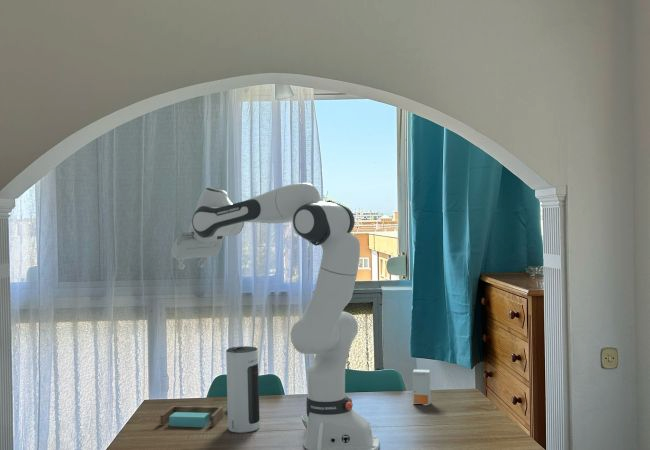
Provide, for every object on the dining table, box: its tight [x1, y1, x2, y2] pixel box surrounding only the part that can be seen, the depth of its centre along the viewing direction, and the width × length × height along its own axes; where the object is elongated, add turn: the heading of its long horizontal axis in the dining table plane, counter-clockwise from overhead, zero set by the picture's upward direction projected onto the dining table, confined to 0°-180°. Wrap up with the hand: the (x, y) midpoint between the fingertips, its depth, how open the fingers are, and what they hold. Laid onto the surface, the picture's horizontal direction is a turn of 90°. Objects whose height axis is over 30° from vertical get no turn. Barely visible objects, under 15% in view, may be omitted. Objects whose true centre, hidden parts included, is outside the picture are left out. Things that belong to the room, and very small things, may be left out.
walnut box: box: [160, 405, 224, 428], centre depth 217 cm, size 18×11×4 cm, turn 83°
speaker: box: [225, 345, 261, 434], centre depth 209 cm, size 11×10×26 cm
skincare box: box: [412, 368, 432, 405], centre depth 233 cm, size 6×4×12 cm
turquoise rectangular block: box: [168, 412, 211, 428], centre depth 214 cm, size 12×5×4 cm, turn 81°
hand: (190, 267), depth 223 cm, fingers open, 8 cm apart
